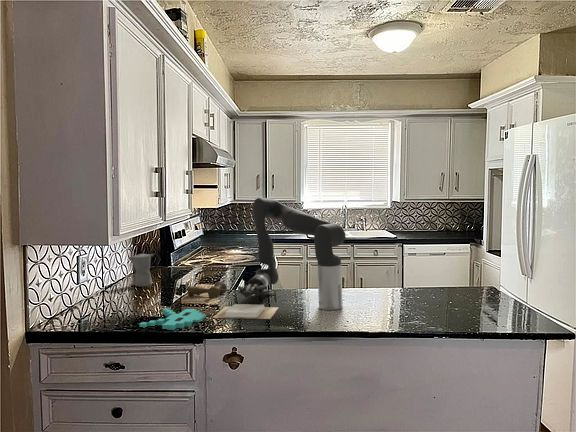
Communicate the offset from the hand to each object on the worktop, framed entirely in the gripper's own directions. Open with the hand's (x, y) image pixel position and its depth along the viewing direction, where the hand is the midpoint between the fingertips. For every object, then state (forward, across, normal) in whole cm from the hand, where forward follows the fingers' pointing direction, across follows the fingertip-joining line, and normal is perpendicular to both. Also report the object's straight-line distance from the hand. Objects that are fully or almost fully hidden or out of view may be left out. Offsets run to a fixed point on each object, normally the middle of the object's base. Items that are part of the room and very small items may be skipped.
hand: (246, 295), depth 176 cm
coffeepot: (-48, -68, +8) cm, 84 cm away
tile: (-3, 0, +5) cm, 6 cm away
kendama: (-26, -25, +8) cm, 37 cm away
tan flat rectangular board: (+1, 0, +8) cm, 8 cm away
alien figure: (+10, -24, +8) cm, 27 cm away
